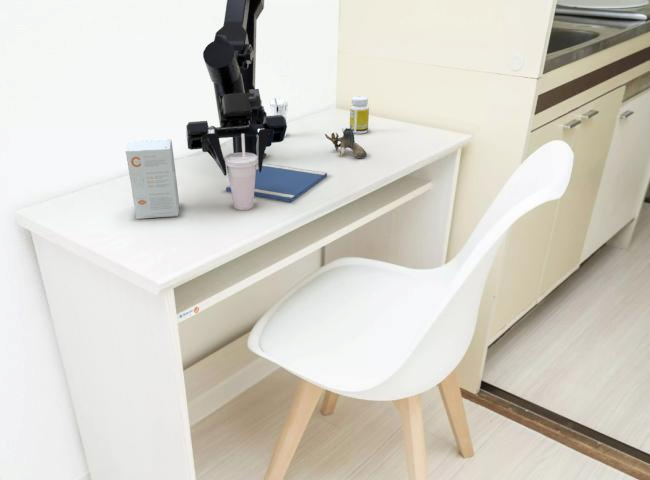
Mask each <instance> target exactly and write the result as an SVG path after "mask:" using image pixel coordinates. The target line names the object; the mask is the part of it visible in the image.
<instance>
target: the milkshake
mask: <svg viewBox="0 0 650 480" xmlns="http://www.w3.org/2000/svg"><path fill="white" fill-rule="evenodd" d="M269 107H270V108H269V109H270V116H274V115H282V116H283V117H284V118H285V119H286V124H287V125H288V109H289V102H288V101H287V99H286V98H285V99H284V98H281V97H280V98H276V97H275V98H273V99H271V100H270V102H269ZM285 137H287V131H286V132H285V136H284V138H285Z"/></svg>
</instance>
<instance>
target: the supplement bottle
mask: <svg viewBox="0 0 650 480" xmlns="http://www.w3.org/2000/svg"><path fill="white" fill-rule="evenodd" d="M368 103H369V98H368V97H367V96H361V95H360V96H358V95H357V96H353V97H352V98H351V105H350V108H349V129H350V128H351V129H352V131H353V133H354V134H357V135H358V134H360V135H361V134H366V133H368V131H369V118H370V117H369V113H370V106H369V105H368Z"/></svg>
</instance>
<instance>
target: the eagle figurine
mask: <svg viewBox="0 0 650 480" xmlns="http://www.w3.org/2000/svg"><path fill="white" fill-rule="evenodd" d="M341 131H342V137H340V135H339V134H338V132H336V133H335V132H332V133H331V134H330V136H329V135H328V134H327V133H324V136H325V138H326V139H327V140H329V141H330V142H332V144H333V145H334V148H335V151H338V150H339V148H340V154H339V157H342V156H343V155H344V154H345V152H346V149H350V150H351V151H352V152H353V153H354V155H355V157H356V158H357V159H363V160H364V159H366V157H367V156H368V154H367V152H366V150H365V149H364V148H363V147H362V146H361V145H360V144H358V143H357V142H356V140H355V139H356V138H355V133H353V131H352V129H351V128H350V127H349V128H348V127H345V129H344V128H342V129H341ZM339 142H340V143H339Z"/></svg>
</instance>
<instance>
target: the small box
mask: <svg viewBox="0 0 650 480" xmlns="http://www.w3.org/2000/svg"><path fill="white" fill-rule="evenodd" d="M125 157H126V162H127V169H128V174H129V175H128V176H129V182H130V188H131V194H132V200H133V206H134V212H135V217H136V219H137V220H140V219H152V218H153V219H154V218H168V217H169V218H170V217H179V214H180V213H179V212H180V199H179V198H180V197H179V189H178V180H177V172H176V164H175V156H174V147H173V141H172V139H171V138H168V139H167V138H166V139H152V140H135V141H134V140H133V141H128V143H127V147H126V150H125Z"/></svg>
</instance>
